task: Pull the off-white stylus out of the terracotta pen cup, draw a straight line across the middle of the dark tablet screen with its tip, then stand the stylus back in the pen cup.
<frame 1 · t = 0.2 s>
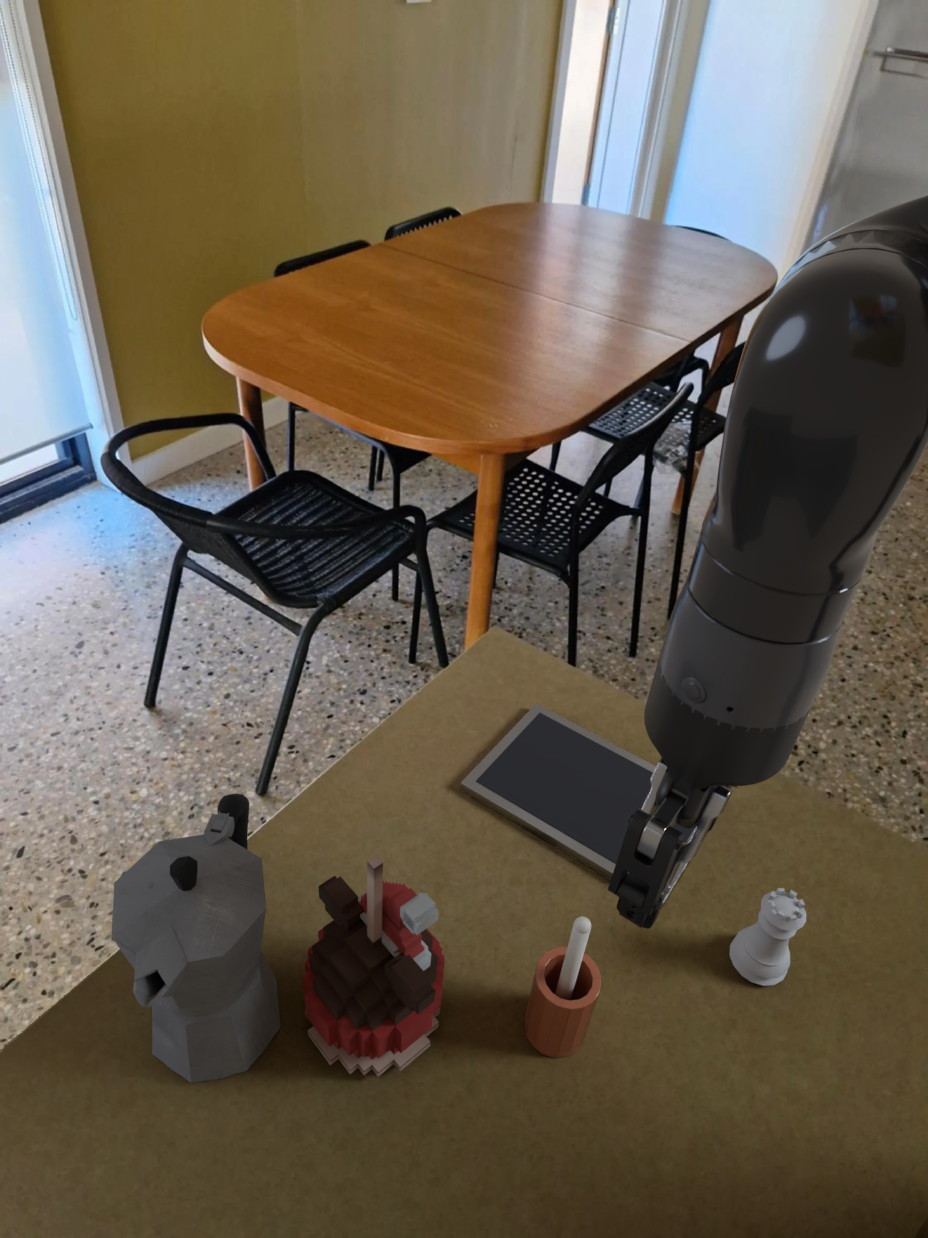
hand: (666, 866, 53), 18 cm above the counter, tool pointing down, fingers open, 8 cm apart
rook chess piece: (756, 963, 69), on the counter
tablet: (591, 799, 80), on the counter
cake: (373, 1013, 64), on the counter
coffeepot: (222, 1004, 64), on the counter
stylus: (555, 1023, 63), point 1 cm above the counter, touching pen cup
pen cup: (554, 1027, 64), on the counter
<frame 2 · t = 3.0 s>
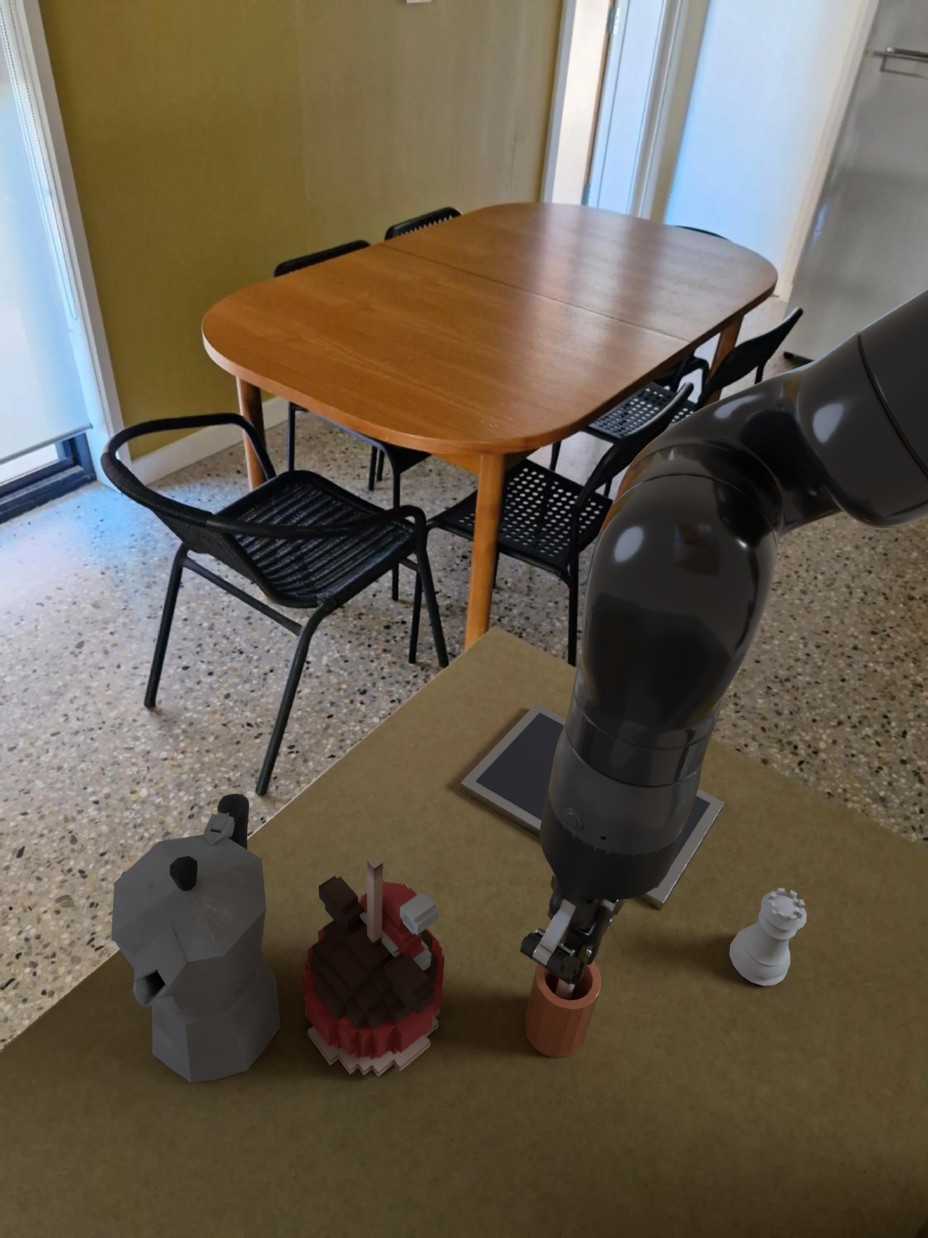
hand: (572, 963, 58), 9 cm above the counter, tool pointing down, fingers closed on stylus, 1 cm apart
stylus: (555, 1023, 63), point 1 cm above the counter, touching gripper, pen cup
everything else where it was.
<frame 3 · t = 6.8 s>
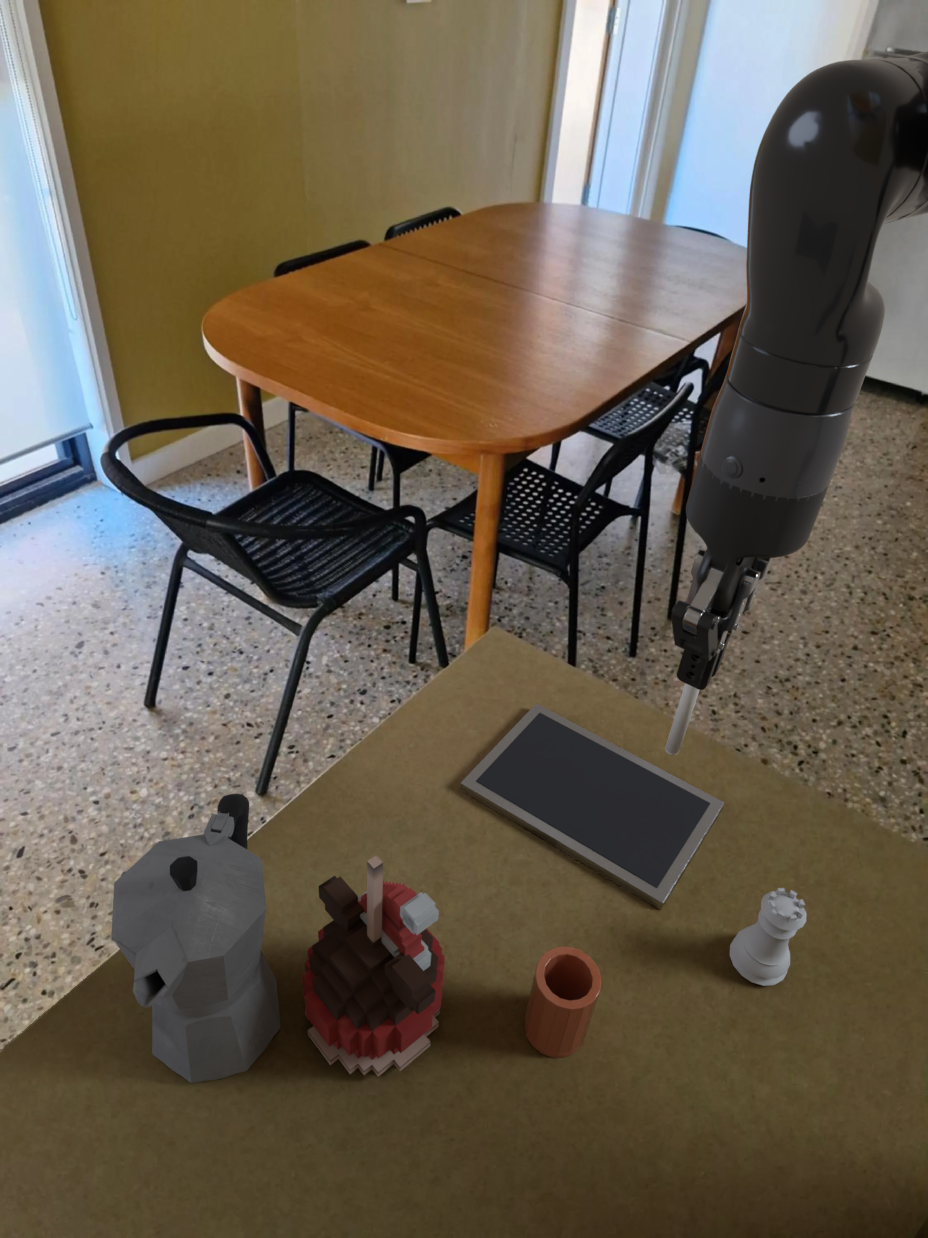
hand: (696, 675, 63), 21 cm above the counter, tool pointing down, fingers closed on stylus, 1 cm apart
stylus: (670, 753, 68), point 13 cm above the counter, touching gripper
everything else where it was.
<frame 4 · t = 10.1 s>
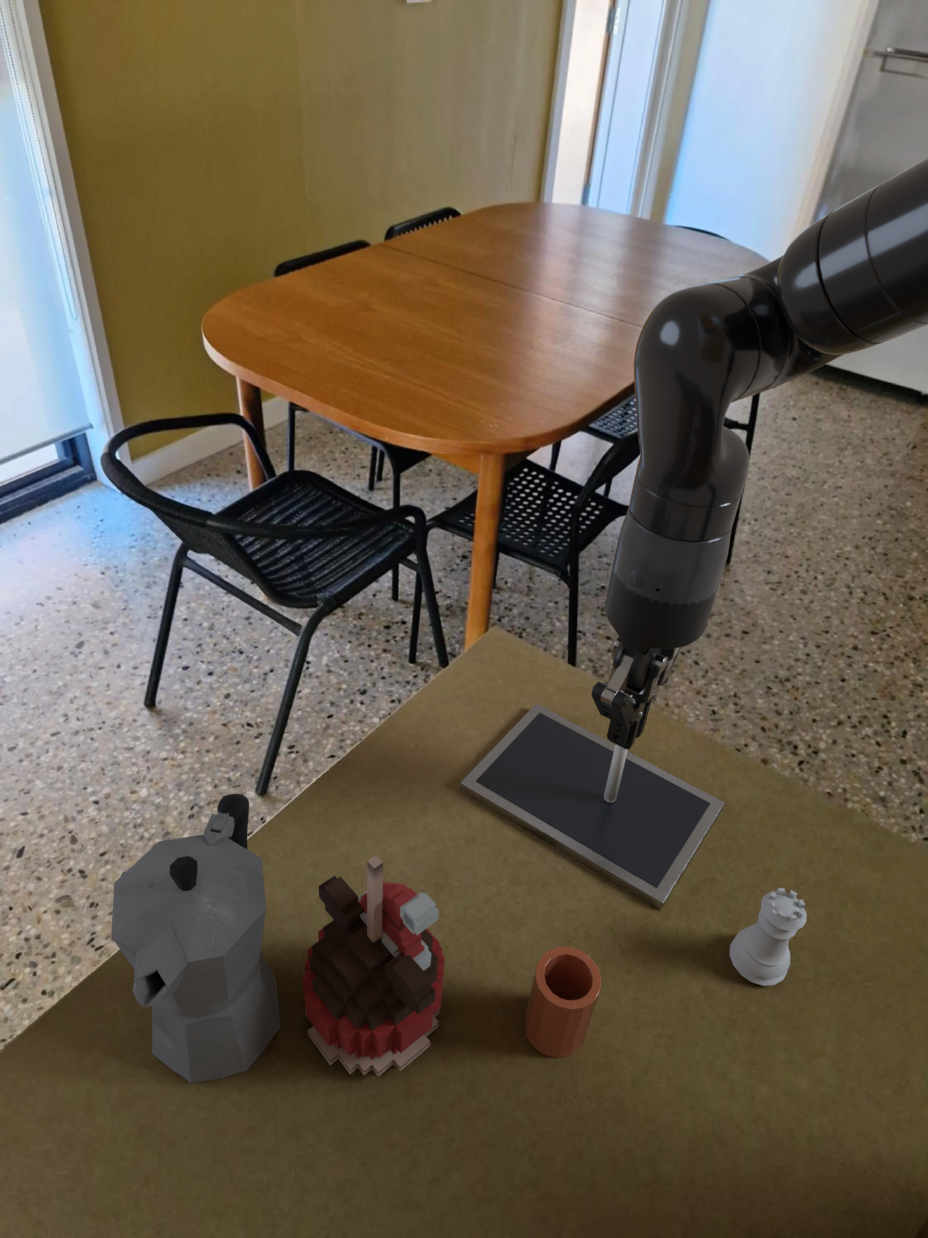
hand: (624, 736, 74), 9 cm above the counter, tool pointing down, fingers closed on stylus, 1 cm apart
stylus: (609, 800, 79), point 1 cm above the counter, touching gripper, tablet
everything else where it was.
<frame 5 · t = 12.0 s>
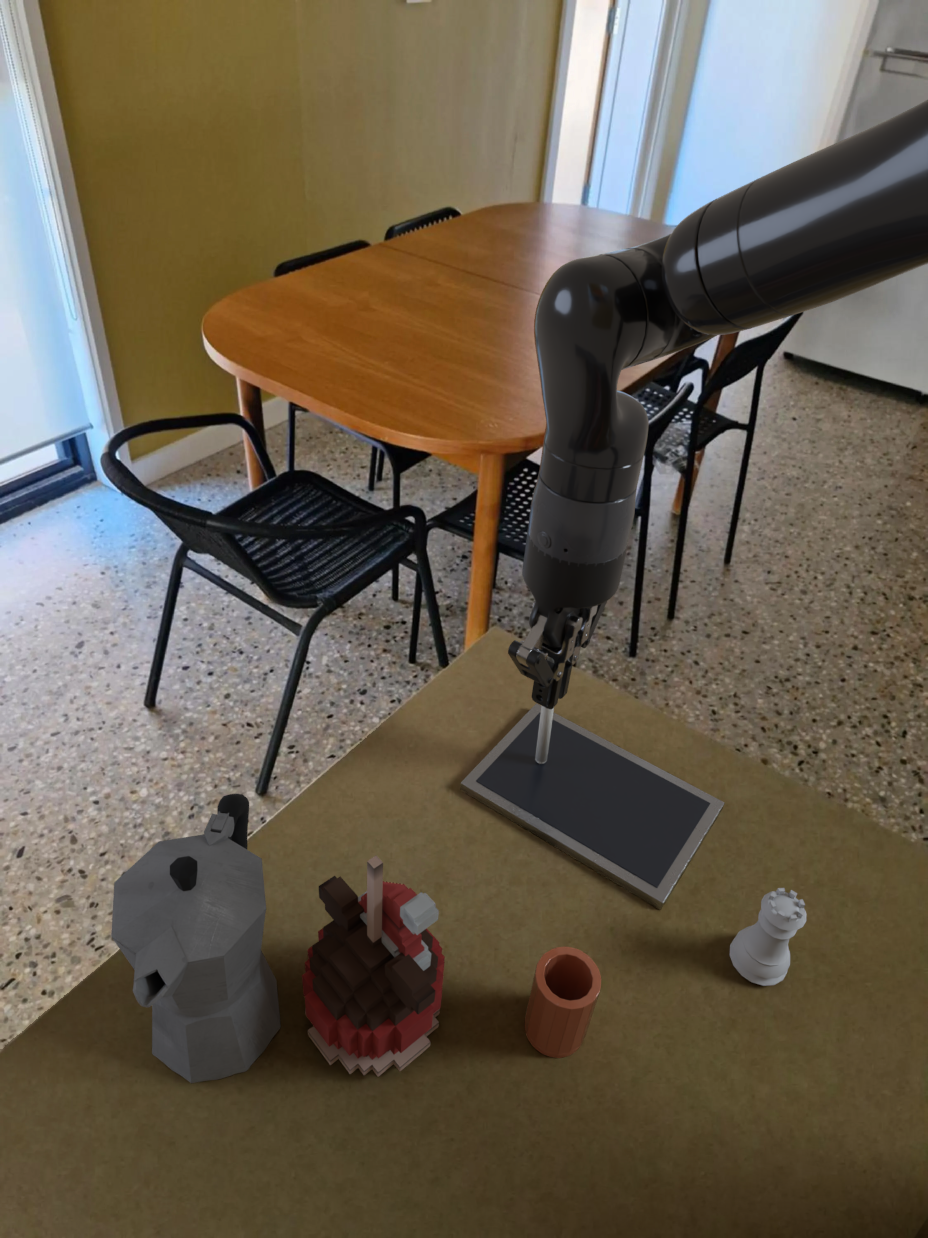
hand: (548, 697, 77), 9 cm above the counter, tool pointing down, fingers closed on stylus, 1 cm apart
stylus: (540, 762, 82), point 1 cm above the counter, touching gripper, tablet
everything else where it was.
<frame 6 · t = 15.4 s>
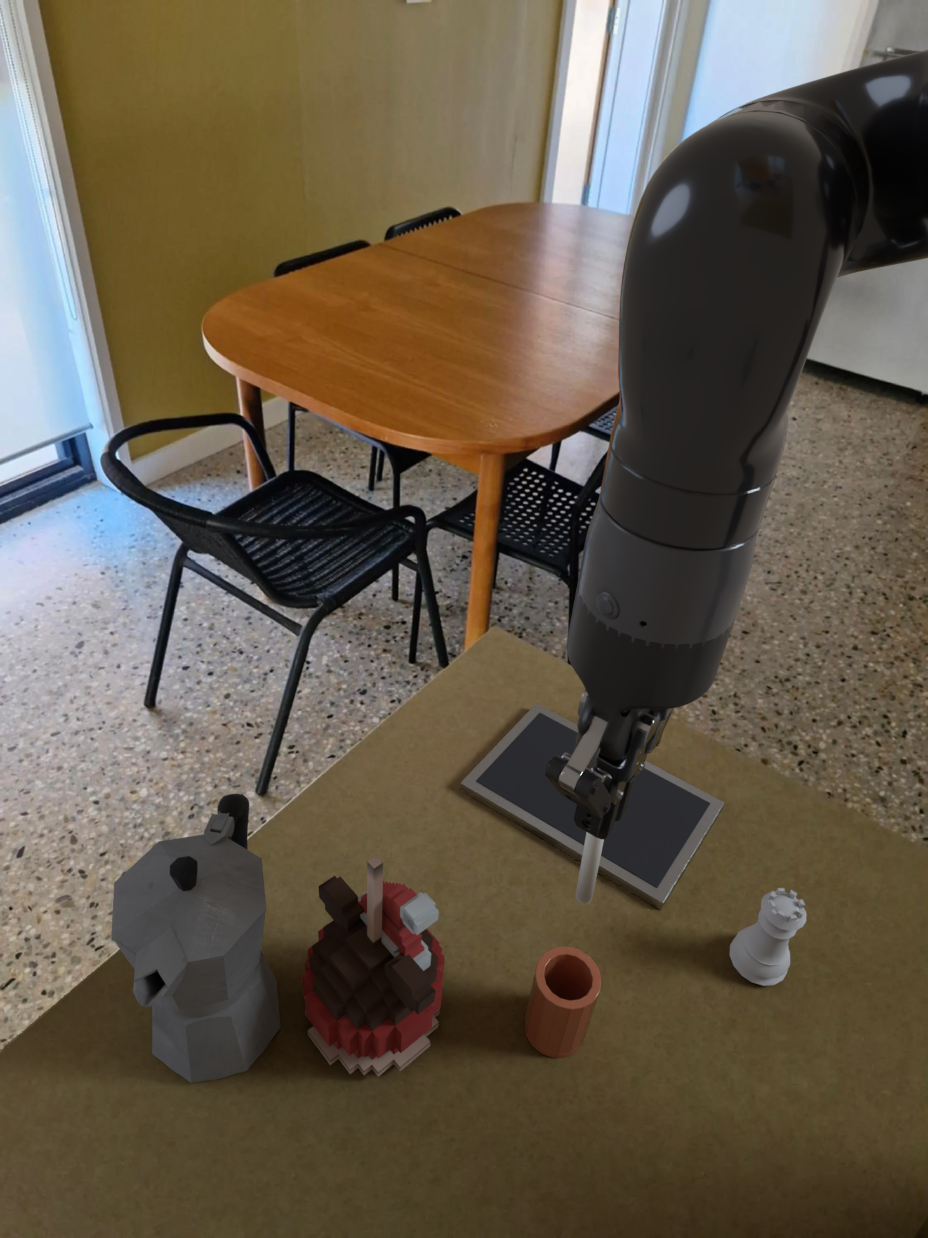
hand: (598, 819, 53), 21 cm above the counter, tool pointing down, fingers closed on stylus, 1 cm apart
stylus: (583, 900, 58), point 12 cm above the counter, touching gripper
everything else where it was.
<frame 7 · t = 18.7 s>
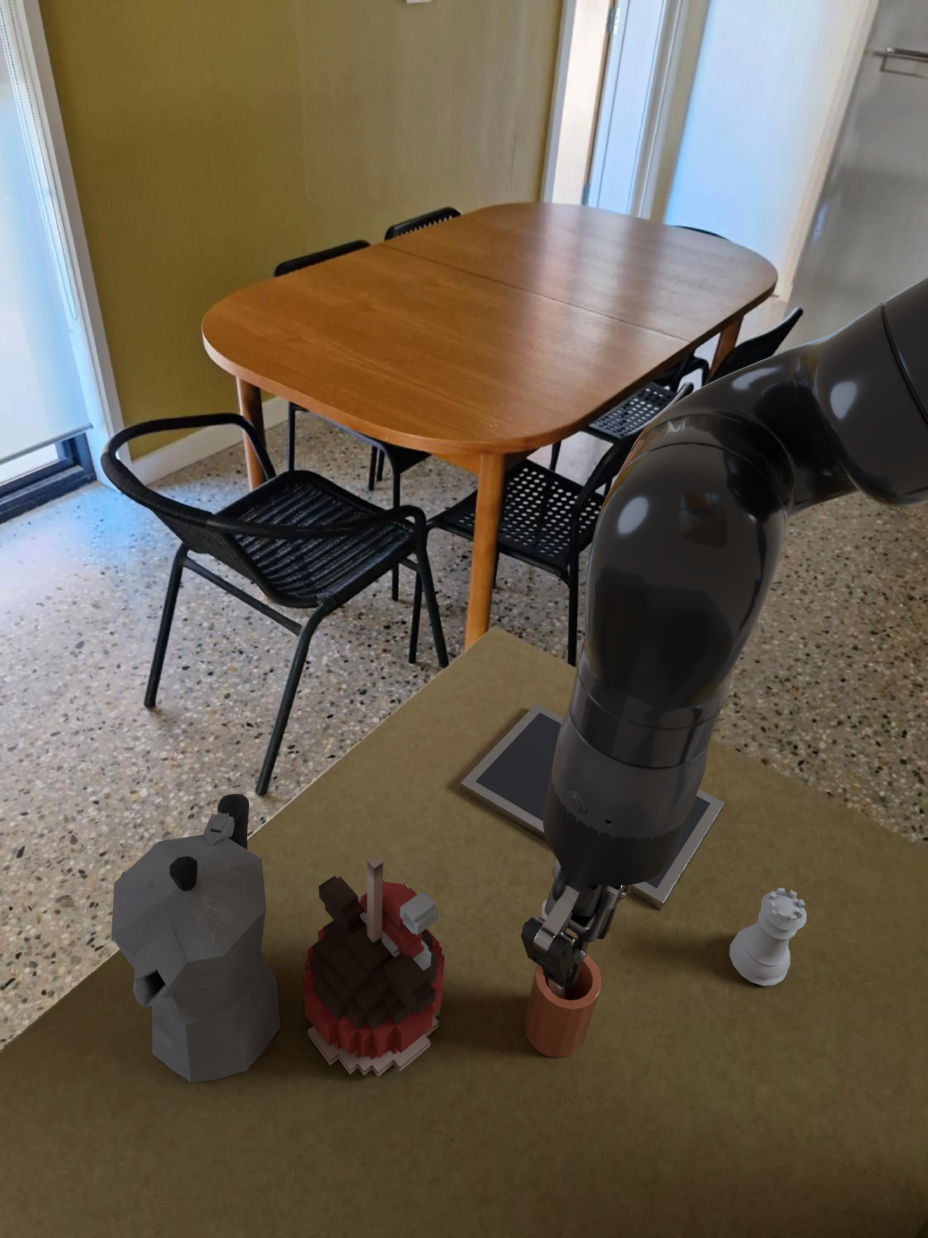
hand: (575, 951, 57), 10 cm above the counter, tool pointing down, fingers open, 3 cm apart
stylus: (559, 1026, 63), point 1 cm above the counter, tilted 12°, touching pen cup
everything else where it was.
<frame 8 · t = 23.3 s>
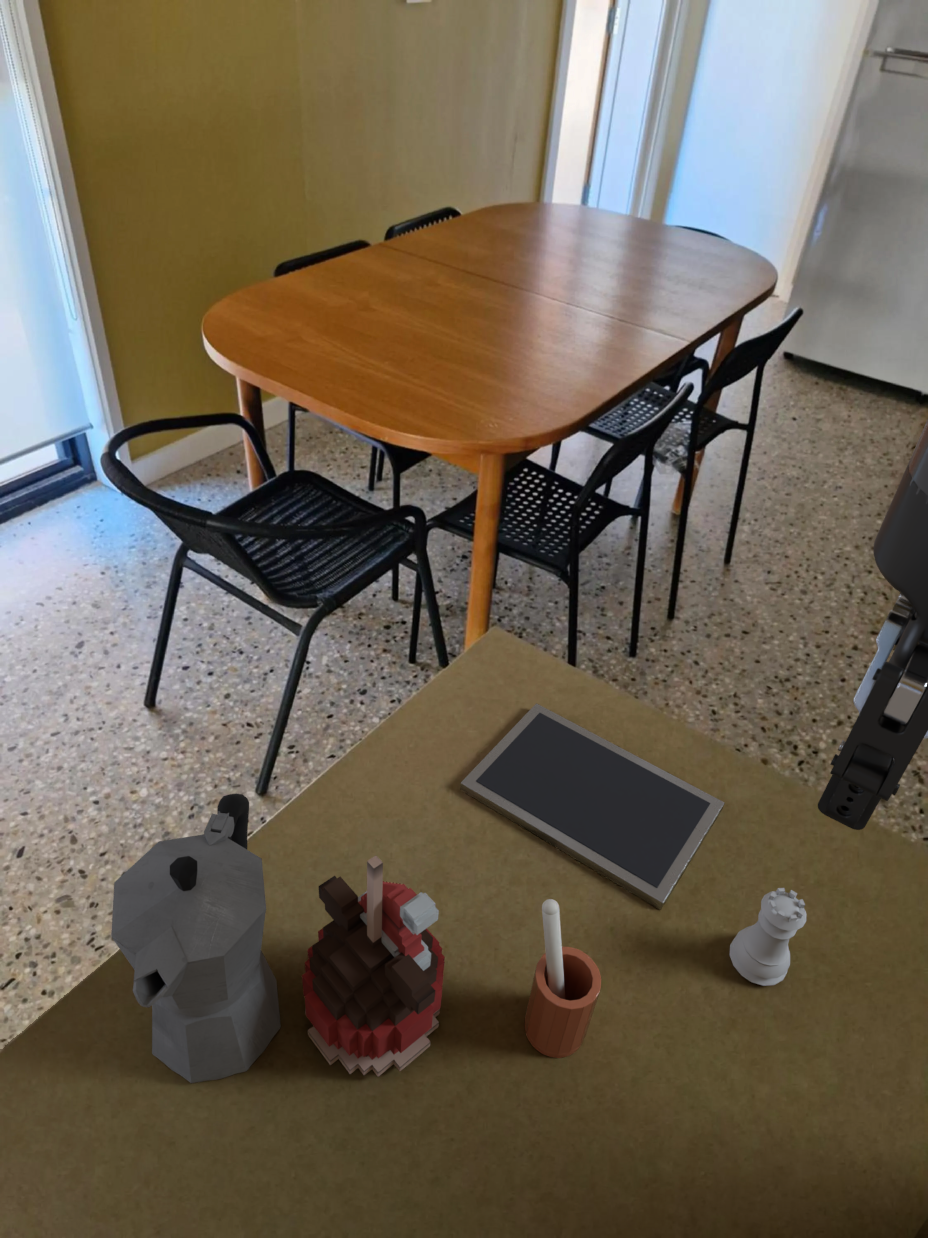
hand: (865, 763, 45), 30 cm above the counter, tool pointing down, fingers open, 8 cm apart
nothing on the counter moved.
at the end: stylus 0.3 cm off-centre in the pen cup, point 0.6 cm above the pen cup's base; stylus tilted 12°; stylus touching pen cup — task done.
